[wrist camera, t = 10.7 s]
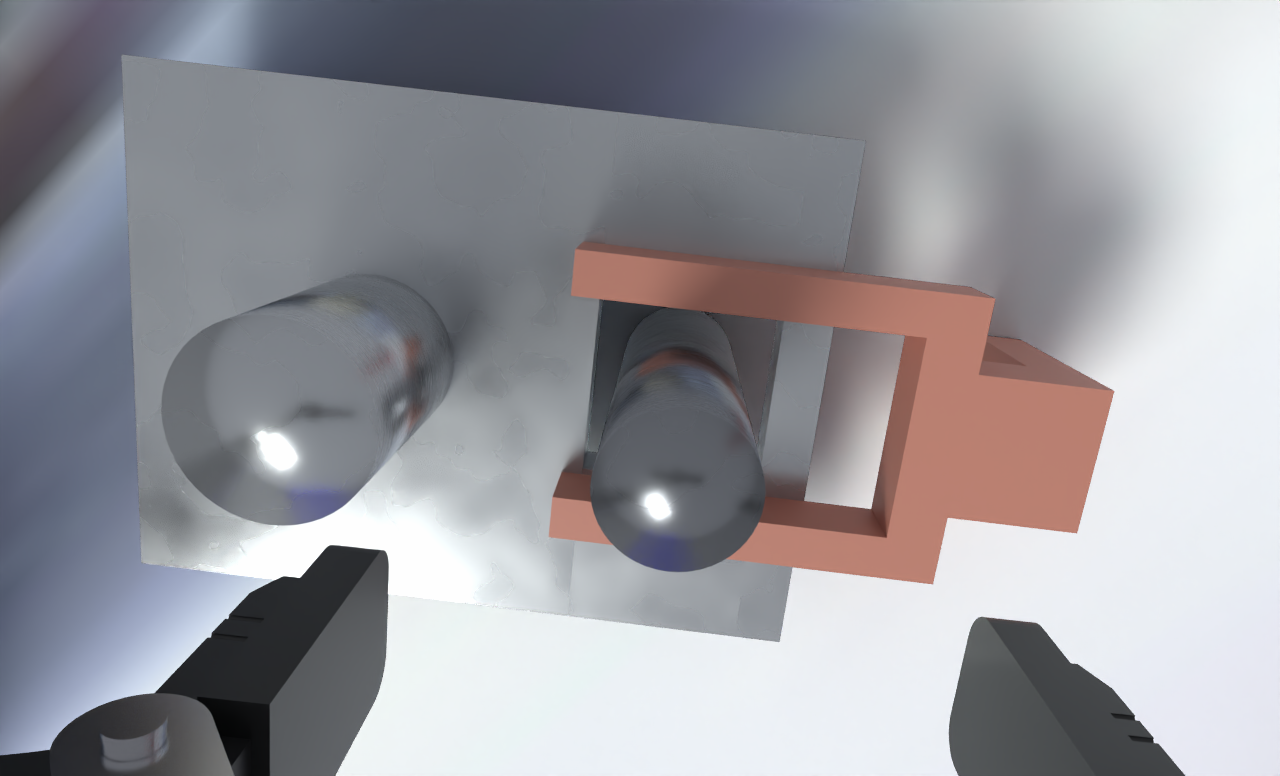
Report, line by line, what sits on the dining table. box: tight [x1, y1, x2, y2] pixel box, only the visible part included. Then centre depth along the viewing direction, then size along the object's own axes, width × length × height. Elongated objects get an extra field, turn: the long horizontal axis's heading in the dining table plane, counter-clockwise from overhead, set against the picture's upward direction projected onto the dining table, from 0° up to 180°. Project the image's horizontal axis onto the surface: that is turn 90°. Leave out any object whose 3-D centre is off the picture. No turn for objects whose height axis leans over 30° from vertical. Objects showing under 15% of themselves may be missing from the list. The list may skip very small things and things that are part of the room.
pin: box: [590, 307, 765, 572], centre depth 24 cm, size 4×4×12 cm
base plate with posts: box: [122, 55, 866, 642], centre depth 24 cm, size 20×15×11 cm
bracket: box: [549, 242, 1114, 584], centre depth 26 cm, size 14×8×6 cm, turn 84°
